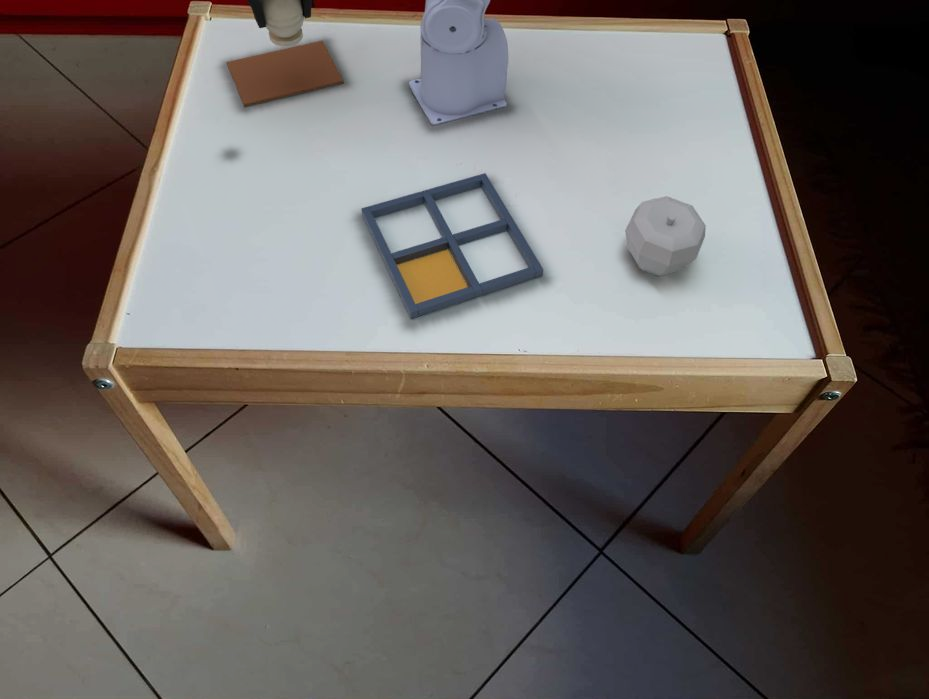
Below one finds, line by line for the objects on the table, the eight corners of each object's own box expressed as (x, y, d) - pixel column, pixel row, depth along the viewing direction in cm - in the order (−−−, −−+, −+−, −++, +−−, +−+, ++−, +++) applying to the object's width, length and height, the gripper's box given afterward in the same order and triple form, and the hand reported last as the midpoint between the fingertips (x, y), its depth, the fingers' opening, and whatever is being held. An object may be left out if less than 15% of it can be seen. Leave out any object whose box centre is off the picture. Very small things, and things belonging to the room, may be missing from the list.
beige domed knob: (299, 20, 84) (292, -29, 79) (311, 44, 82) (304, -5, 77) (261, 28, 83) (251, -20, 78) (272, 53, 81) (262, 4, 76)
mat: (323, 43, 93) (322, 40, 93) (343, 83, 89) (343, 80, 89) (227, 64, 90) (226, 61, 90) (244, 107, 86) (243, 104, 86)
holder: (484, 184, 82) (485, 172, 80) (541, 279, 75) (543, 269, 74) (362, 219, 78) (361, 208, 77) (410, 322, 72) (410, 312, 70)
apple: (614, 227, 79) (628, 183, 74) (688, 233, 79) (708, 189, 74) (618, 288, 75) (633, 246, 69) (696, 294, 75) (718, 252, 69)
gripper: (189, -80, 65) (224, 55, 77) (348, -108, 69) (359, 24, 80) (171, -120, 68) (208, 15, 80) (324, -145, 72) (338, -13, 84)
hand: (282, 17), depth 80 cm, fingers closed on beige domed knob, 4 cm apart
